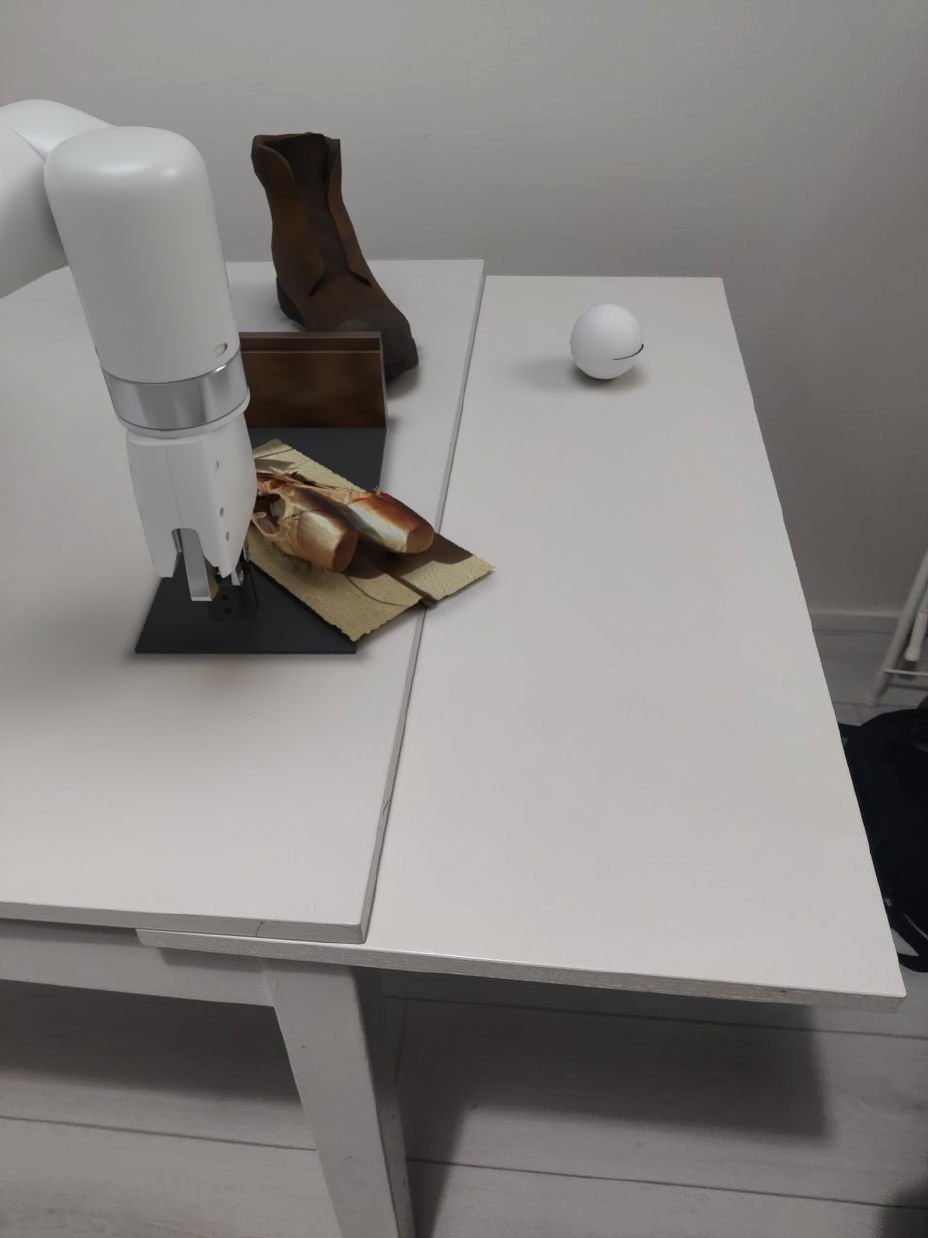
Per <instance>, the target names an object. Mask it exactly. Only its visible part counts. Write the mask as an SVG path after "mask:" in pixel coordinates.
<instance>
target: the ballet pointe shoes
mask: <svg viewBox="0 0 928 1238" xmlns="http://www.w3.org/2000/svg"><path fill="white" fill-rule="evenodd" d="M252 452H253V458H254V463H255V469H256V477H257V495H256V501H255V505H254V509H253V512H252V516H251V520H250V523H249V527H248V530H247V537H248V543H249V549H250V560H251V561H253V562H255V564H256V565H258V566H259V567H260V568H261V569H263V570H264V571H265V572H267V573H268V574H269V576H272V578H275V579H276V581H278V583H280V584H281V585H282V586H285V588H287V589H288V591H290V592H291V593H292V594H295V596H296V597H298V598H300V600H302V601H303V602H306V604H307V605H308V606H311V608H312V610H316V611H315V612H316V613H319V615H320V616H323V617H322V618H324V619H325V621H328V623H330V624H333V625H336V626H337V627H338V628H340V629H342V631H341V632H343V633H346V634H347V635H348V636H350V639H351V640H352V641H356V640H357V641H358V640H359V639H360V638H361V636H364V634H366V635H370V633H371V632H372V630H374V631H375V630H377V629H379V628H380V627H381V625H384V624H386V623H387V621H391V620H393V619H394V618H395V617H397V616H398V615H399V614H401V613H403V612H405V610H407V609H409V608H411V607H413V606H414V605H415V604H418V603H419V602H421V603H423V604H424V605H425V606H426V607H427V608H431V607H433V606H434V605H437V604H438V601H440V600H441V599H442V600H443V599H444V598H443V597H445V596H448V597H450V595H452V594H454V593H455V594H456V592H457V591H458V590H461V589H462V588H464V587H466V586H468V585H469V584H470V583H472V582H474V581H475V580H478V579H479V578H482V577H483V576H485V575H486V574H488V572H490V571H491V570H492V569H495V568H496V567H495V566H493V565H491V564H490V563H488V562H486V560H483V559H482V558H479V557H478V556H477V555H476V554H474V553H472V552H470V551H469V550H467V549H465V548H464V547H462V546H460V545H458V544H456V543H455V542H453V541H452V540H450V539H449V538H447V537H445V536H444V535H442V534H440V533H437V532H436V531H435V529H434V527H433V525H432V524H431V523H430V521H428V520H427V519H426V518H424V517H423V516H421V515H420V514H419V513H418V512H416V511H415V510H414V509H412V508H411V507H410V506H408V505H407V504H405V503H404V502H403V501H401V500H400V499H397V498H396V497H395V496H392V495H391V494H389V493H387V492H384V491H381V490H380V488H378V487H377V486H376V487H375V488H373V489H374V490H375V491H376V492H377V494H373V493H366V491H365V490H363V489H361V488H359V487H358V486H354V484H352V483H351V482H350V481H349V482H348V481H347V480H346V479H345V478H342V477H340V475H337V474H334V472H332V471H331V470H327V469H328V468H324V466H322V465H319V464H318V463H317V462H315V463H314V461H313V460H311V459H310V458H309V457H306V456H304V455H303V454H302V453H300V452H297V451H296V450H295V449H292V447H289V446H288V445H285V443H284V444H283V443H282V442H281V441H280V440H278V439H273V440H271V441H269V442H268V443H266V444H264V445H261V446H259V447H257V448H255V449H253V450H252ZM431 610H433V608H431Z"/></svg>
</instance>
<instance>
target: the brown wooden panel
mask: <svg viewBox="0 0 928 1238" xmlns="http://www.w3.org/2000/svg"><path fill="white" fill-rule="evenodd" d="M238 334H239V340H240V345H241V350H242V355H243V361H244V366H245V371H246V376H247V382H248V387H249V392H250V401H249V404H248V406H247V408H246V410H245V411H244V412H243V414H244V418H245V422H246V426H247V428H386V429H387V427H388V421H389V413H388V412H389V411H388V400H387V399H388V398H387V390H386V388H387V387H386V378H385V373H384V361H383V348H382V342H381V332H380V331H376V332H308V331H238Z"/></svg>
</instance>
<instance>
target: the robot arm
mask: <svg viewBox="0 0 928 1238" xmlns="http://www.w3.org/2000/svg"><path fill="white" fill-rule="evenodd" d="M209 177H210V176H209V173H208V169H207V165H206V163H205V161H204V159H203V157H202V154H201V153H200V151H199V150H198V148H197V147H196V146H195V145H194V144H193V143H192V142H191V141H190V140H189V139H187V138H186V137H185V136H182V135H181V134H179V133H177V132H176V131H175V132H174V131H171V130H167V129H163V128H158V127H152V126H142V125H127V126H126V125H123V126H117V125H114V124H111V123H109V122H107V121H106V120H103V119H101V118H98V117H96V116H93V115H91V114H89V113H86V112H85V111H82V110H80V109H77V108H75V107H73V106H70V105H67V104H64V103H62V102H58V101H54V100H49V99H38V98H36V99H34V98H33V99H25V100H19V101H15V102H11V103H9V104H5V105H2V106H0V300H2V299H4V298H6V297H9V296H10V295H12V294H13V293H15V292H18V291H19V290H21V289H23V288H24V287H26V286H28V285H30V284H32V283H33V282H35V281H37V280H39V279H41V278H42V277H44V276H46V275H48V274H50V273H53V272H55V271H58V270H61V269H64V268H66V267H69V270H70V273H71V276H72V280H73V283H74V286H75V289H76V292H77V296H78V298H79V301H80V305H81V308H82V312H83V315H84V318H85V321H86V324H87V329H88V332H89V335H90V337H91V341H92V343H93V346H94V350H95V354H96V356H97V359H98V361H99V366H100V370H101V373H102V376H103V379H104V381H105V384H106V388H107V390H108V394H109V397H110V400H111V404H112V407H113V410H114V413H115V416H116V419H117V421H118V422H119V424H120V425H121V426H122V427H123V428H125V429H126V435H125V441H126V450H127V458H128V459H127V460H128V466H129V472H130V478H131V483H132V489H133V494H134V498H135V502H136V507H137V510H138V511H137V512H138V514H139V515H138V516H139V519H140V523H141V527H142V531H143V534H144V538H145V542H146V545H147V550H148V552H149V557H150V560H151V563H152V566H153V569H154V571H155V573H156V574H157V575H158V576H159V578H162V577H164V578H165V577H173V574H174V571H175V568H176V566H177V563H178V560H179V557H180V555H181V552H183V555H184V560H185V566H186V572H187V577H188V583H189V589H190V594H191V599H192V601H206V602H207V606H208V609H209V613H210V617H211V619H212V620H214V621H217V622H254V621H255V620H256V619H257V615H258V612H257V610H259V607H260V599H259V594H258V590H257V585H256V581H255V576H254V572H253V567H252V564H243V562H249V559H250V549H249V543H248V537H247V530H248V527H249V523H250V520H251V516H252V512H253V509H254V505H255V501H256V495H257V477H256V469H255V463H254V458H253V452H252V448H251V443H250V439H249V434H248V430H247V426H246V422H245V418H244V414H243V412H244V411H245V410H246V408H247V406H248V404H249V401H250V392H249V387H248V382H247V376H246V371H245V366H244V361H243V355H242V350H241V345H240V340H239V334H238V332H239V329H238V324H237V319H236V314H235V308H234V303H233V298H232V293H231V287H230V281H229V277H228V272H227V266H226V261H225V255H224V250H223V245H222V240H221V233H220V229H219V223H218V218H217V215H216V214H217V213H216V209H215V208H216V207H215V202H214V197H213V192H212V185H211V183H210V178H209Z"/></svg>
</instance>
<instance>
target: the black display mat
mask: <svg viewBox="0 0 928 1238" xmlns="http://www.w3.org/2000/svg"><path fill="white" fill-rule="evenodd" d="M247 430H248V434H249V439H250V443H251V448H252V450H253V449H255V448H257V447H259V446H261V445H264V444H266V443H268V442H269V441H271V440H273V439H278V440H280V441H281V442H282V443H283V444H284V443H285V445H288V446H289V447H292V449H295V450H296V451H297V452H300V453H302V454H303V455H304V456H306V457H309V458H310V459H311V460H313V461H314V463H315V462H317V463H318V464H319V465H322V466H324V468H328V469H327V470H331V471H332V472H334V474H337V475H340V477H342V478H345V479H346V480H347V481H348V482H349V481H350V482H351V483H352V484H354V486H358V487H359V488H361V489H363V490H365V491H366V493H373V494H377V492H376V491H375V490H374V489H373V488H375V487H376V486H377V487H378V488H379V486H380V479H381V473H382V465H383V458H384V452H385V451H384V450H385V444H386V438H387V437H386V436H387V428H247ZM379 489H380V488H379ZM243 564H252V567H253V572H254V576H255V581H256V585H257V590H258V594H259V599H260V607H259V610H257V612H258V615H257V619H256V620H255V621H254V622H217V621H214V620H212V619H211V617H210V613H209V609H208V606H207V602H206V601H192V599H191V594H190V589H189V583H188V577H187V572H186V566H185V560H184V555H183V552H181V555H180V557H179V560H178V563H177V566H176V568H175V571H174V574H173V577H165V578H164V577H161V580H160V583H159V585H158V589H157V591H156V593H155V595H154V599H153V600H152V603H151V606H150V608H149V611H148V613H147V616H146V618H145V622H144V624H143V627H142V630H141V632H140V634H139V637H138V639H137V642H136V645H135V647H134V653H135V654H356V653H357V647H358V640H356V641H352V640H351V639H350V636H348V635H347V634H346V633H343V632H341V631H342V629H340V628H338V627H337V626H336V625H333V624H330V623H328V621H325V619H324V618H322V617H323V616H320V615H319V613H316V612H315V611H316V610H312V608H311V606H308V605H307V604H306V602H303V601H302V600H300V598H298V597H296V596H295V594H292V593H291V592H290V591H288V589H287V588H285V586H282V585H281V584H280V583H278V581H276V579H275V578H272V576H269V574H268V573H267V572H265V571H264V570H263V569H261V568H260V567H259V566H258V565H256V564H255V562H253V561H251V560H250V559H249V562H243Z"/></svg>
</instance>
